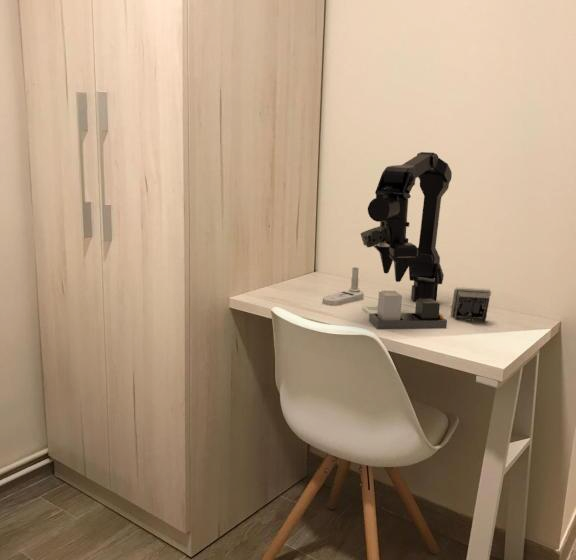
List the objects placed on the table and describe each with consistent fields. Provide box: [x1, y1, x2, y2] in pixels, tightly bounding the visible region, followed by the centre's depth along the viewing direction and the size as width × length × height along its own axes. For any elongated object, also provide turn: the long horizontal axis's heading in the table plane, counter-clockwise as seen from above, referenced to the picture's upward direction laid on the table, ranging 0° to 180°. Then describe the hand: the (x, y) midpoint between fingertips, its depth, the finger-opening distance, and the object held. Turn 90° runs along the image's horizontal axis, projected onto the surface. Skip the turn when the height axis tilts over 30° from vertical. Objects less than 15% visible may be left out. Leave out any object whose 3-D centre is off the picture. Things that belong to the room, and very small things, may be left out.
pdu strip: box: [368, 299, 448, 330], centre depth 157 cm, size 18×7×7 cm, turn 99°
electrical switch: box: [450, 286, 492, 324], centre depth 163 cm, size 9×5×9 cm, turn 84°
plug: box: [377, 290, 403, 321], centre depth 156 cm, size 4×4×8 cm
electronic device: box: [322, 266, 365, 307], centre depth 178 cm, size 5×10×15 cm
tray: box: [361, 305, 403, 316], centre depth 167 cm, size 9×8×1 cm
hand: (391, 277), depth 160 cm, fingers open, 9 cm apart
